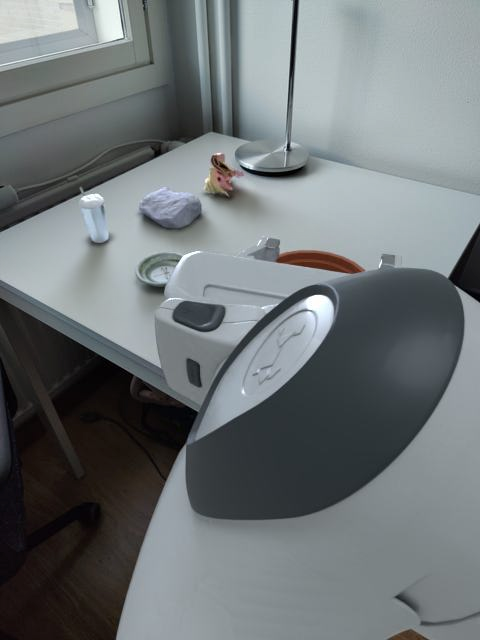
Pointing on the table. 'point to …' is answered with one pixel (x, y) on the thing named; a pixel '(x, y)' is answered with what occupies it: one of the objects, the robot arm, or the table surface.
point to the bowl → (320, 261)
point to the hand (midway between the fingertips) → (328, 253)
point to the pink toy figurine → (220, 175)
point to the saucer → (157, 268)
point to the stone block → (171, 208)
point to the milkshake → (94, 216)
